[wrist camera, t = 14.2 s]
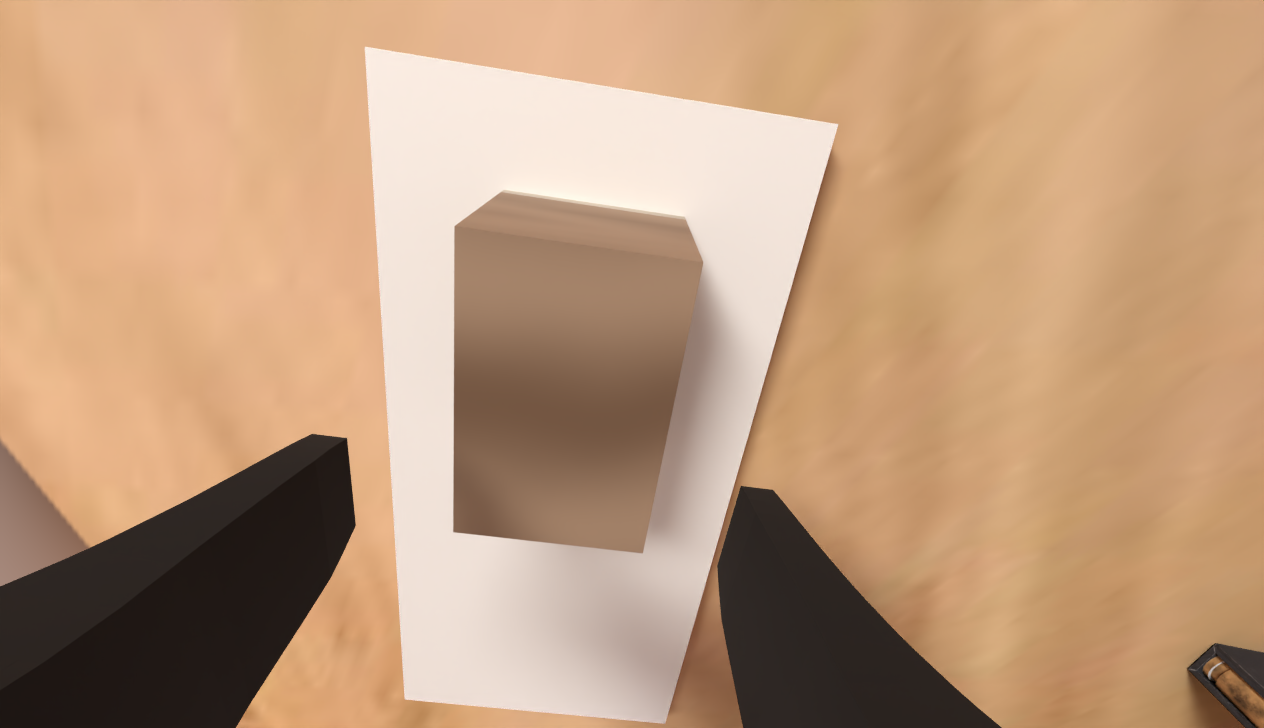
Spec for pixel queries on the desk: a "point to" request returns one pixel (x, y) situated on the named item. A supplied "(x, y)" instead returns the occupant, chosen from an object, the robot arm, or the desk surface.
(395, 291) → the plank
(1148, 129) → the desk surface
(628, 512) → the block
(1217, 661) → the ammunition clip
